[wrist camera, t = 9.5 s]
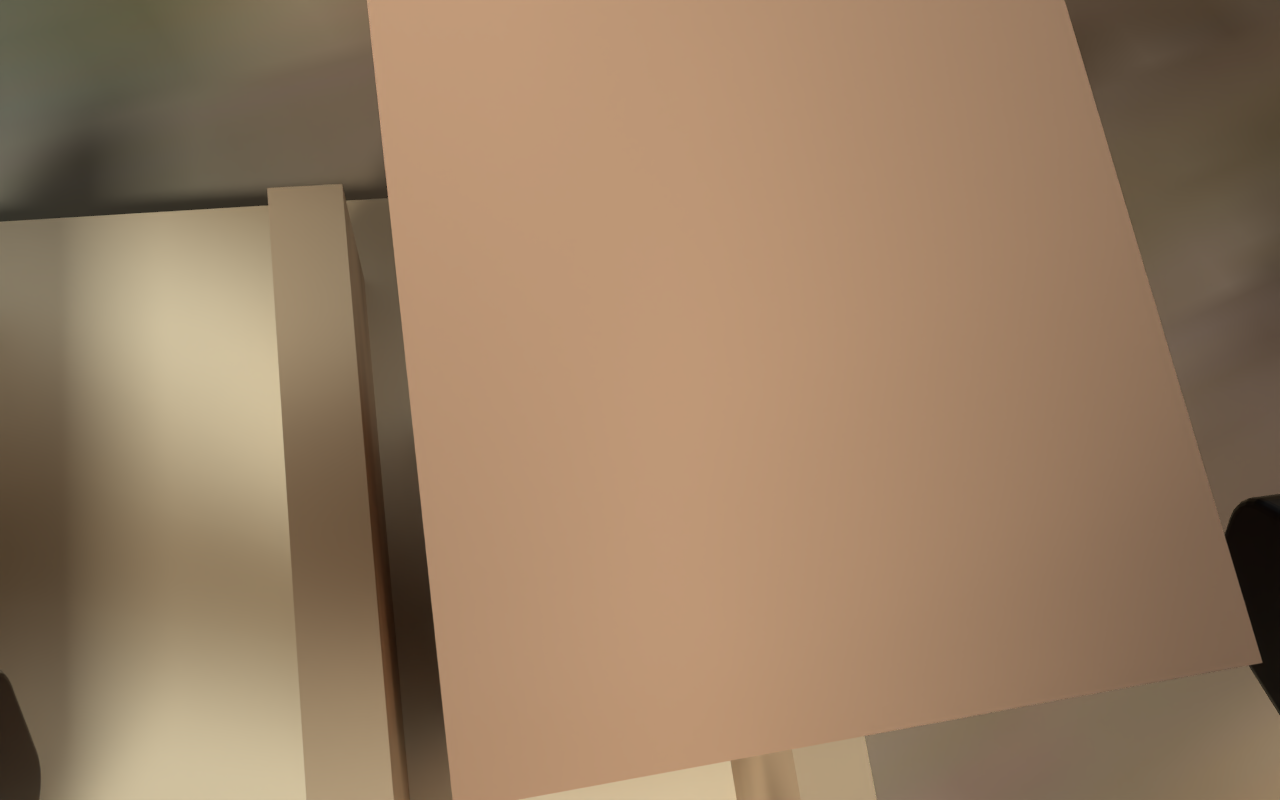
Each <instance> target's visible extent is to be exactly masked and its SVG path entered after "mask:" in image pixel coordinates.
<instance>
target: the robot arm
mask: <svg viewBox="0 0 1280 800" xmlns="http://www.w3.org/2000/svg"><path fill="white" fill-rule="evenodd" d="M1225 539H1226V542H1227V545H1228V549H1229V552H1230V555H1231V559H1232V562H1233V565H1234V569H1235V572H1236V575H1237V579H1238V582H1239V585H1240V589H1241V592H1242V595H1243V599H1244V602H1245V605H1246V609H1247V612H1248V615H1249V619H1250V622H1251V626H1252V629H1253V632H1254V636H1255V639H1256V642H1257V646H1258V649H1259V652H1260V656H1261V659H1262V662H1263V663H1259V664H1253V665H1249V667H1250V668H1251V670H1252V672H1253V673H1254V675H1255V676H1256V678H1257V680H1258V681H1259V683H1260V684H1261V686H1262V688H1263V689H1264V691H1265V692H1266V694H1267V696H1268V697H1269V699H1270V700H1271V702H1272V704H1273V705H1274V707H1275V708H1276V710H1277V712H1278V713H1279V715H1280V494H1275V495H1268V496H1260V497H1253V498H1249V499H1246V500H1244V501H1242V502H1241V503H1240V504H1239V505H1238V506H1237V507H1236V508H1235V509H1234V511H1233V513H1232V515H1231V517H1230V520H1229V523H1228V526H1227V529H1226V532H1225ZM40 793H41V766H40V760H39V756H38V753H37V750H36V747H35V745H34V742H33V739H32V737H31V734H30V732H29V729H28V726H27V724H26V721H25V719H24V716H23V713H22V711H21V708H20V705H19V703H18V700H17V698H16V695H15V692H14V690H13V687H12V684H11V682H10V680H9V679H8V677H7V675H6V674H5V673H4V672H3V671H2V670H1V669H0V800H40Z"/></svg>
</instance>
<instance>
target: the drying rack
mask: <svg viewBox="0 0 1280 800" xmlns="http://www.w3.org/2000/svg"><path fill="white" fill-rule="evenodd" d="M267 194H268V205H267V206H250V207H234V208H217V209H201V210H185V211H168V212H152V213H135V214H119V215H102V216H86V217H70V218H53V219H37V220H20V221H4V222H0V669H1V670H2V671H3V672H4V673H5V674H6V675H7V677H8V679H9V680H10V682H11V684H12V687H13V690H14V692H15V695H16V698H17V700H18V703H19V705H20V708H21V711H22V713H23V716H24V719H25V721H26V724H27V726H28V729H29V732H30V734H31V737H32V739H33V742H34V745H35V747H36V750H37V753H38V756H39V760H40V766H41V793H40V800H453V799H452V790H451V781H450V771H449V762H448V753H447V743H446V734H445V724H444V715H443V706H442V696H441V687H440V678H439V668H438V659H437V650H436V640H435V631H434V622H433V612H432V603H431V593H430V584H429V575H428V565H427V556H426V547H425V537H424V528H423V519H422V509H421V500H420V491H419V481H418V472H417V462H416V453H415V444H414V434H413V425H412V416H411V406H410V397H409V388H408V378H407V369H406V360H405V350H404V341H403V332H402V322H401V313H400V303H399V294H398V285H397V275H396V266H395V257H394V247H393V238H392V229H391V219H390V210H389V201H388V198H382V199H365V200H349V201H346V199H345V194H344V190H343V186H342V184H331V185H314V186H296V187H279V188H267ZM519 800H877V798H876V793H875V788H874V783H873V777H872V772H871V767H870V762H869V757H868V752H867V746H866V741H865V736H862V737H856V738H851V739H846V740H840V741H835V742H829V743H824V744H818V745H813V746H807V747H802V748H797V749H791V750H786V751H780V752H775V753H769V754H764V755H759V756H753V757H748V758H742V759H737V760H731V761H726V762H720V763H715V764H710V765H704V766H699V767H693V768H688V769H682V770H677V771H672V772H666V773H661V774H655V775H650V776H644V777H639V778H634V779H628V780H623V781H617V782H612V783H606V784H601V785H595V786H590V787H585V788H579V789H574V790H568V791H563V792H557V793H552V794H547V795H541V796H536V797H530V798H525V799H519Z"/></svg>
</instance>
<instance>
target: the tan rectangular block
mask: <svg viewBox="0 0 1280 800" xmlns="http://www.w3.org/2000/svg"><path fill="white" fill-rule="evenodd" d="M367 4H368V14H369V23H370V32H371V42H372V51H373V60H374V70H375V79H376V88H377V98H378V107H379V116H380V126H381V135H382V144H383V154H384V163H385V173H386V182H387V191H388V201H389V210H390V219H391V229H392V238H393V247H394V257H395V266H396V275H397V285H398V294H399V303H400V313H401V322H402V332H403V341H404V350H405V360H406V369H407V378H408V388H409V397H410V406H411V416H412V425H413V434H414V444H415V453H416V462H417V472H418V481H419V491H420V500H421V509H422V519H423V528H424V537H425V547H426V556H427V565H428V575H429V584H430V593H431V603H432V612H433V622H434V631H435V640H436V650H437V659H438V668H439V678H440V687H441V696H442V706H443V715H444V724H445V734H446V743H447V753H448V762H449V771H450V781H451V790H452V799H453V800H519V799H525V798H530V797H536V796H541V795H547V794H552V793H557V792H563V791H568V790H574V789H579V788H585V787H590V786H595V785H601V784H606V783H612V782H617V781H623V780H628V779H634V778H639V777H644V776H650V775H655V774H661V773H666V772H672V771H677V770H682V769H688V768H693V767H699V766H704V765H710V764H715V763H720V762H726V761H731V760H737V759H742V758H748V757H753V756H759V755H764V754H769V753H775V752H780V751H786V750H791V749H797V748H802V747H807V746H813V745H818V744H824V743H829V742H835V741H840V740H846V739H851V738H856V737H862V736H867V735H873V734H878V733H884V732H889V731H894V730H900V729H905V728H911V727H916V726H922V725H927V724H932V723H938V722H943V721H949V720H954V719H960V718H965V717H971V716H976V715H981V714H987V713H992V712H998V711H1003V710H1009V709H1014V708H1019V707H1025V706H1030V705H1036V704H1041V703H1047V702H1052V701H1058V700H1063V699H1068V698H1074V697H1079V696H1085V695H1090V694H1096V693H1101V692H1106V691H1112V690H1117V689H1123V688H1128V687H1134V686H1139V685H1144V684H1150V683H1155V682H1161V681H1166V680H1172V679H1177V678H1183V677H1188V676H1193V675H1199V674H1204V673H1210V672H1215V671H1221V670H1226V669H1231V668H1237V667H1242V666H1248V665H1253V664H1259V663H1263V662H1262V659H1261V656H1260V652H1259V649H1258V646H1257V642H1256V639H1255V636H1254V632H1253V629H1252V626H1251V622H1250V619H1249V615H1248V612H1247V609H1246V605H1245V602H1244V599H1243V595H1242V592H1241V589H1240V585H1239V582H1238V579H1237V575H1236V572H1235V569H1234V565H1233V562H1232V559H1231V555H1230V552H1229V549H1228V545H1227V542H1226V539H1225V535H1224V532H1223V528H1222V525H1221V522H1220V518H1219V515H1218V512H1217V508H1216V505H1215V502H1214V498H1213V495H1212V492H1211V488H1210V485H1209V482H1208V478H1207V475H1206V472H1205V468H1204V465H1203V462H1202V458H1201V455H1200V452H1199V448H1198V445H1197V442H1196V438H1195V435H1194V431H1193V428H1192V425H1191V421H1190V418H1189V415H1188V411H1187V408H1186V405H1185V401H1184V398H1183V395H1182V391H1181V388H1180V385H1179V381H1178V378H1177V375H1176V371H1175V368H1174V365H1173V361H1172V358H1171V354H1170V351H1169V348H1168V344H1167V341H1166V338H1165V334H1164V331H1163V328H1162V324H1161V321H1160V318H1159V314H1158V311H1157V308H1156V304H1155V301H1154V298H1153V294H1152V291H1151V288H1150V284H1149V281H1148V278H1147V274H1146V271H1145V268H1144V264H1143V261H1142V257H1141V254H1140V251H1139V247H1138V244H1137V241H1136V237H1135V234H1134V231H1133V227H1132V224H1131V221H1130V217H1129V214H1128V211H1127V207H1126V204H1125V201H1124V197H1123V194H1122V191H1121V187H1120V184H1119V181H1118V177H1117V174H1116V170H1115V167H1114V164H1113V160H1112V157H1111V154H1110V150H1109V147H1108V144H1107V140H1106V137H1105V134H1104V130H1103V127H1102V124H1101V120H1100V117H1099V114H1098V110H1097V107H1096V104H1095V100H1094V97H1093V94H1092V90H1091V87H1090V83H1089V80H1088V77H1087V73H1086V70H1085V67H1084V63H1083V60H1082V57H1081V53H1080V50H1079V47H1078V43H1077V40H1076V37H1075V33H1074V30H1073V27H1072V23H1071V20H1070V17H1069V13H1068V10H1067V7H1066V3H1065V0H367Z"/></svg>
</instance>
